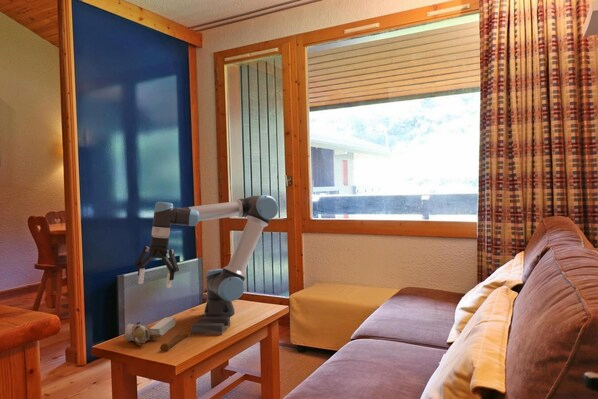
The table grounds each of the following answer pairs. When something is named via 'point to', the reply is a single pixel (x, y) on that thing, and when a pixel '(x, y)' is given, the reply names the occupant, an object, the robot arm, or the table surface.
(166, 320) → the clay strip
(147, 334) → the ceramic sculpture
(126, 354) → the table surface
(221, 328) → the dark grey rimmed tray
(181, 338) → the primitive tool
